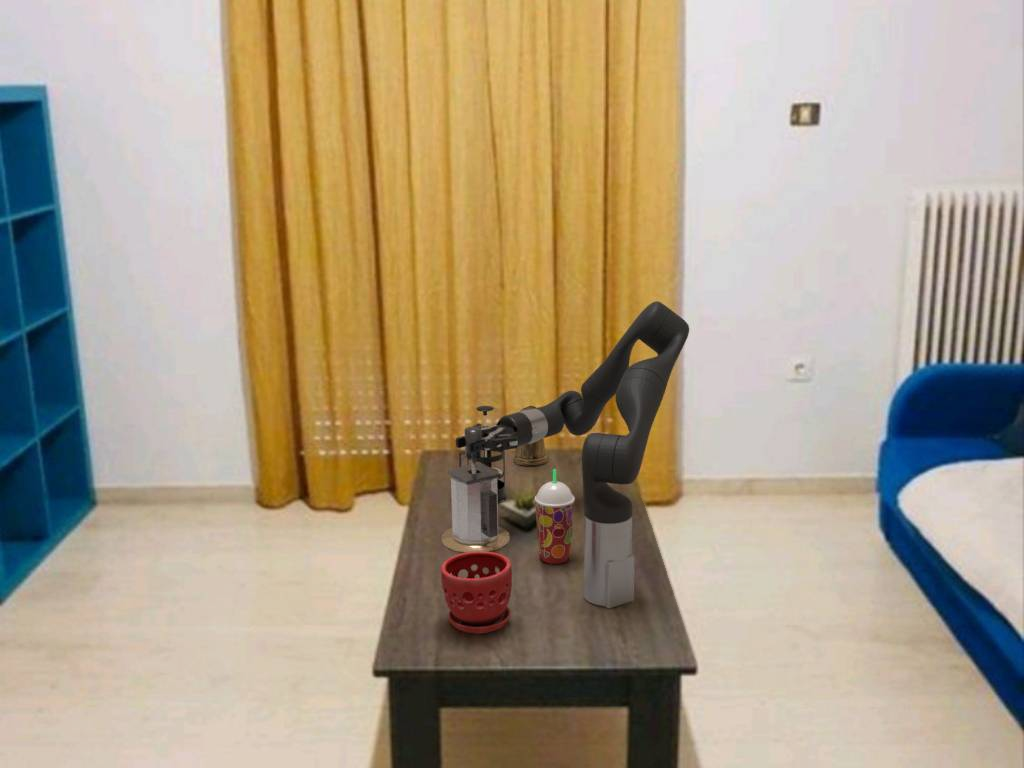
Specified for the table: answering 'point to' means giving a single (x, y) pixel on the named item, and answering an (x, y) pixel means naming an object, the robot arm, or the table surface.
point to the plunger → (470, 436)
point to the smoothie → (554, 521)
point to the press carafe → (474, 511)
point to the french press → (490, 459)
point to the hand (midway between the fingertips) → (463, 445)
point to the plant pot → (477, 591)
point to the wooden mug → (531, 452)
